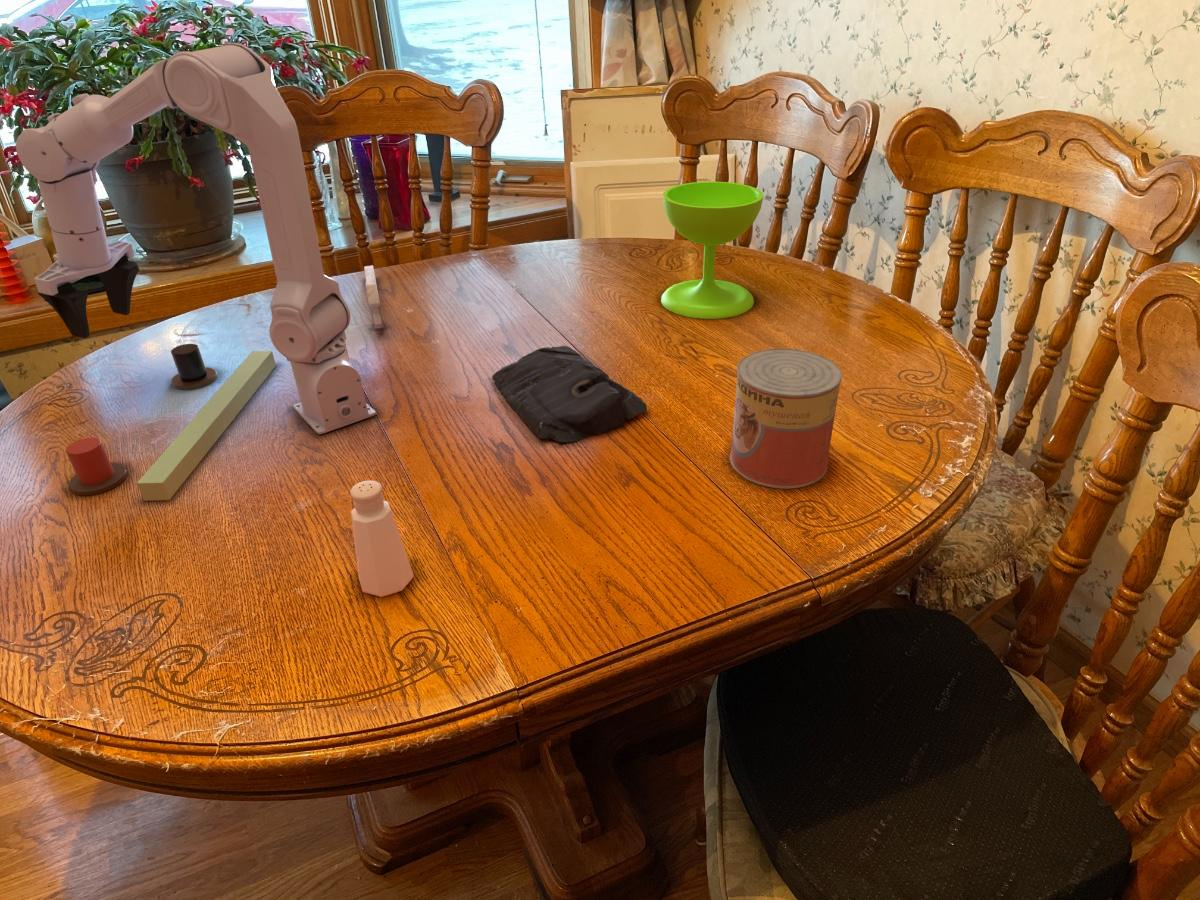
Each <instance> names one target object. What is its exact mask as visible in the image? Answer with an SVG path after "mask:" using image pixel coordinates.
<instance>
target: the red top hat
mask: <svg viewBox="0 0 1200 900" xmlns="http://www.w3.org/2000/svg"><path fill="white" fill-rule="evenodd" d="M65 453H66V456H67V457H68V459H69V461H70V464H71V466H72V468H73V471H74V472H75V475H73V476H72V477H71V479H70V480H69V482H68V488H69V490H70V491H71V493H72V494H74V495H77V496H84V497H85V496H86V497H87V496H94V495H99V494H102V493H106V492H109V491H110V490H111V491H112V490H113V489H115V488H116V487H118V486H119V485H121V484H122V483H123V482H124V481H125V480H126V478H127V477H128V470H127V468H126V467H125V466H124V464H122V463H119V462H118V463H117V462H111V460H110V458H109V456H108V453H107V452H106V449H105V447H104V445H103V442H102V440H101V438H98V437H95V436H94V437H93V436H92V437H84V438H81V439H77V440H75V441H73V442H71V443H70V444H68V445H67V447H66V448H65Z"/></svg>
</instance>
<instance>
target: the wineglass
mask: <svg viewBox="0 0 1200 900" xmlns="http://www.w3.org/2000/svg"><path fill="white" fill-rule="evenodd" d="M763 201H764V193H763V191H761V190H760V189H759V188H757V187H754V186H751V185H747V184H744V183H738V182H737V183H736V182H731V181H696V182H695V181H694V182H688V183H680V184H678V185H677V184H676V185H673V186H671V187H668V188H667V189H665V190H664V191H663V192H662V202H663V209H664V213H665V214H666V217H667V219H668V221H669V223H670V224H671V225H672V227H673V228H674V230H675V231H676V232H677V233H678V234H679V235H681V236H682V237H683V238H685V239H686V240H688V241H689V242H691V243H695V244H697V245H702V246H703V264H702V266H703V267H702V279H691V280H686V281H682V282H678V283H675V284H673V285H671V286H670V287H668V288H666V290H664V292H663V293H662V295H661V297H660V303H661V304H662V307H664V308H665V309H666V310H668V311H669V312H672V313H674V314H676V315H679V316H683V317H687V318H693V319H703V320H704V319H705V320H715V319H716V320H717V319H727V318H733V317H737V316H740V315H743V314H744V313H747V312H748V311H750V310H751V309H752V308H753V306H754V304H755V300H754V296H753V294H752V293H750V291H749V290H748V289H747V288H746V287H744V286H742V285H739V284H737V283H733V282H731V281H727V280H721V279H715V270H716V269H715V268H716V267H715V266H716V250H717V249H716V248H717V246H720V245H724V244H728V243H732V241H734V240H737V238H739V237H741V236H742V235H744V234H745V233H746V232H747V231H748V230H749V229H750V228H751V226H752V225H753V224H754V223H755V221H756V219H757V218H758V215H759V213H760V212H761V209H762V205H763Z"/></svg>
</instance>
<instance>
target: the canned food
mask: <svg viewBox="0 0 1200 900" xmlns="http://www.w3.org/2000/svg"><path fill="white" fill-rule="evenodd" d="M736 373H737V374H736V376H737V377H736V388H735V389H736V390H735V399H734V400H735V401H734V402H735V403H734V413H733V414H734V415H733V427H732V439H731V450H730V454H729V462H730V465H731V466H732V468H733V470H734V471H735V472H736V473H737V474H738V475H739V476H740V477H742V478H744V479H745V480H747V481H749V482H751V483H754V484H756V485H759V486H761V487H765V488H766V487H767V488H772V489H780V490H781V489H783V490H786V489H787V490H788V489H789V490H791V489H792V490H793V489H799V488H800V489H801V488H804V487H807V486H810V485H813V484H815V483H817V482H819V481H820V480H821V479H822V478H824V477H825V475H826V473H827V471H828V465H829V464H828V460H829V456H830V455H829V454H830V448H831V443H832V436H833V430H834V429H833V428H834V423H835V416H836V411H837V404H838V398H839V392H840V387H841V382H842V380H843V379H842V378H843V374H842V370H841V368H840V367H839V366H838V364H836V363H835V362H834V361H833V360H830V359H829V358H827V357H825V356H823V355H820V354H818V353H815V352H811V351H807V350H802V349H797V348H769V349H762V350H759V351H755V352H752V353H750V354H748V355H746V356H744V357H743V358H742V359H740V361H738V364H737V366H736Z"/></svg>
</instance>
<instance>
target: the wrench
mask: <svg viewBox="0 0 1200 900" xmlns="http://www.w3.org/2000/svg"><path fill="white" fill-rule="evenodd" d="M374 268H375V267H374V265H372V264H371V265H365V266H363V269H364V278H365V284H364V285H365V291H366V297H367V303H368V307H369V310H370V315H371V321H372V324H373V329H374V330H377V329H384V328H385V324H384V319H383V312H382V307H381V306H382V304H381V301H380V300H381V299H380V295H379V289H378V284H377V279H376V274H375V269H374Z"/></svg>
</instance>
